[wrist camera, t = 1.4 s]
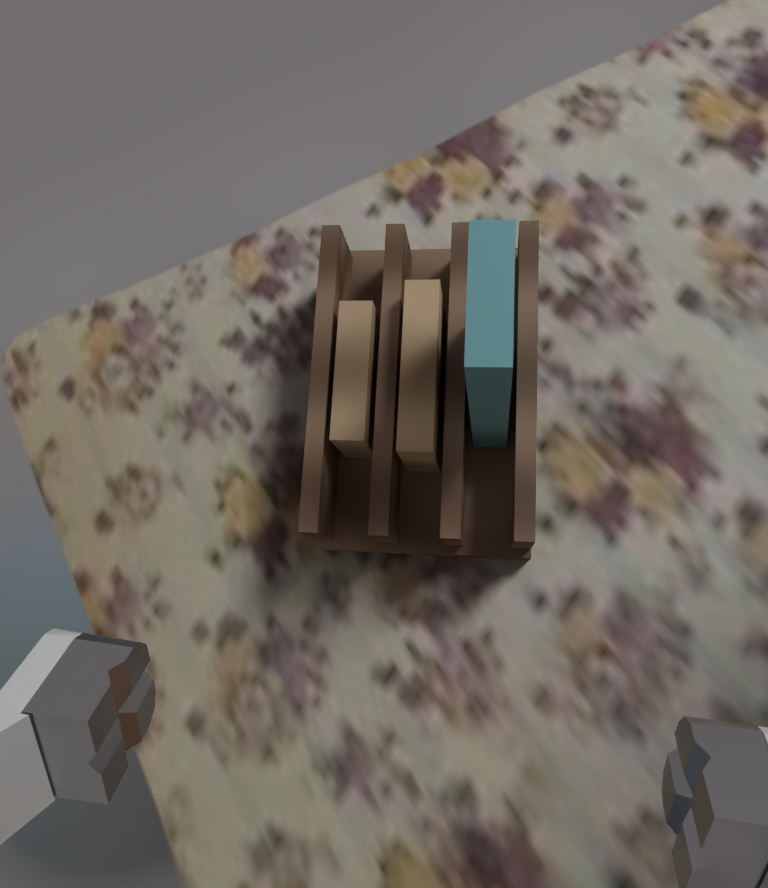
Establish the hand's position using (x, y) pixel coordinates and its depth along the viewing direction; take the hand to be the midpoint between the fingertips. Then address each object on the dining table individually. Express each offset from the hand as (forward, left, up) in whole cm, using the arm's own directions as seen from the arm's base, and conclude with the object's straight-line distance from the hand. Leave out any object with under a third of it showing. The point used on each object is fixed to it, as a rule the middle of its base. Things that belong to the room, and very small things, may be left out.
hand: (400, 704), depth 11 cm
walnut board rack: (-5, -12, -30) cm, 33 cm away
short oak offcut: (-5, -12, -29) cm, 32 cm away
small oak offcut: (-3, -14, -29) cm, 32 cm away
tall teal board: (-8, -10, -29) cm, 32 cm away
